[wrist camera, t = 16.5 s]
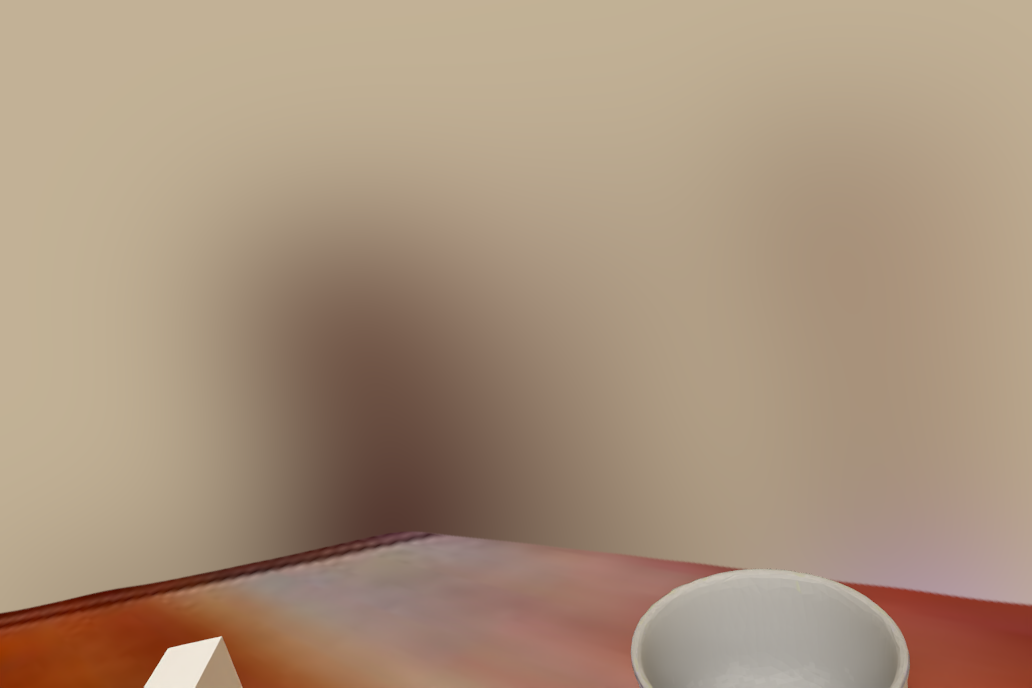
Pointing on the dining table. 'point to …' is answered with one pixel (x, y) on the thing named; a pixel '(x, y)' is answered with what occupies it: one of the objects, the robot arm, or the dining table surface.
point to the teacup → (768, 635)
